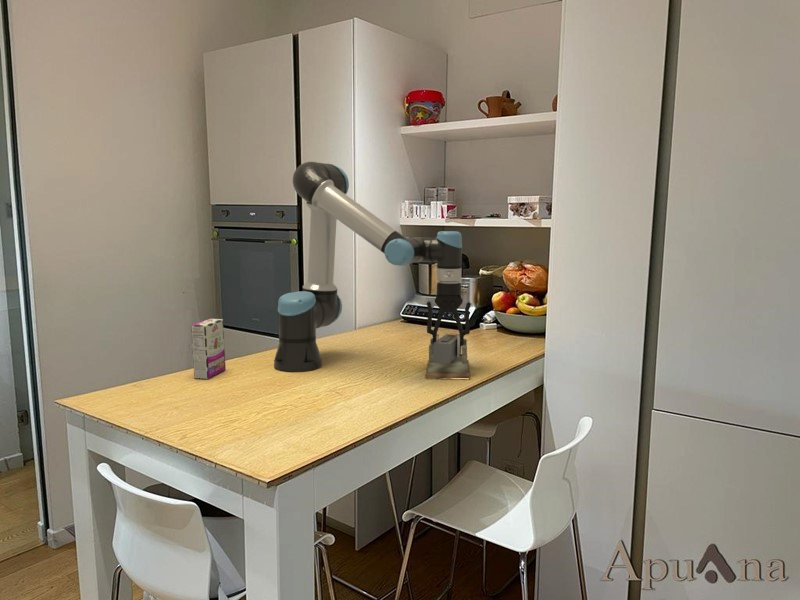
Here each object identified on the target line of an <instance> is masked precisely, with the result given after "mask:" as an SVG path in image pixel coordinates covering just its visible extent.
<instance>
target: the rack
mask: <svg viewBox="0 0 800 600" xmlns="http://www.w3.org/2000/svg"><path fill="white" fill-rule="evenodd" d="M467 340H468V339H467V338H464V345H462V346H461V354H460V357H456V358H455V359H454V360H453V361H452V362H451V363H450V364H443V363H433V337H430V341H429V342H430V343H429V345H428V360H427V365H426V370H425V376H424V379H425V378H469V379H470V365H469V359H468V345H467V343H468V341H467Z"/></svg>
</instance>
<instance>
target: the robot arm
mask: <svg viewBox="0 0 800 600" xmlns="http://www.w3.org/2000/svg"><path fill="white" fill-rule="evenodd" d="M292 186H293V188H294V190H295V192H296V194H297V195H298V196H299V197H300V198H301V199H303V200H304V201H306V206H307V207H308V208H309V210H310V217H309V218H310V219H309V221H310V222H309V240H308V241H309V242H308V243H309V244H308V246H309V247H308V262H307V263H308V264H307V265H308V267H307V282H306V283H305V284H304V285H302V291H293V292H288V293H285V294H283V295H281V296H280V297H279V299H278V300H277V301H278V304H277V305H278V306H277V312H278V313H277V314H278V317H277V318H278V345H277V350H276V352H275V357H274V360H273V366H274V369H275V370H278V371H282V372H308V371H309V372H310V371H313V370H317V369H319V368H321V367H322V366H323V365H322V364H323V363H322V361H323V359H322V355H321V352H320V349H319V347H318V344H317V329H320V328H323V327H324V328H325V327H327V326H329V325H331V324H333V323H334V322H336V321H337V320H338V319H339V318H340V316H341V314H342V310H343V303H342V299H341V298H340V296H339V295H338V287H337V286H336V285H335V284H334V275H335V273H334V272H335V258H336V257H335V256H336V255H335V254H336V238H337V237H336V236H337V220H338V221H339V222H340V223H341V224H343V225H344V226H346V227H347V228H349V229H350V230H351V231H352V232H354V233H355V234H357V236H359V237H361V238H362V239H363V240H365V241H366V242H368V243H369V244H370V245H372V246H373V247H375V248H376V249H377V250H378V251H380V252H381V253H382V254H384V256H385V259H386V260H387V261H388V263H389V264H391V265H393V266H399V267H400V266H406V265H409V264H416V263H421V262H422V263H436V281H437V282H436V295H435V296H436V297H435V298H434V299H433V300H428V301H427V302H426V306H427V310H428V311H427V322H426V323H427V325H426V326H427V327H426V333H427V334H430V335H432V338H433V345H434V342H436V341H437V340H438V339H440V334H438V331H439V327H440V325H441V322H442V319H443V316H444V313H453V316H454V319H455V323H456V326H457V330H458V334H460V335H457V357H460V346H461V347H462V345H464V339H465V338H464V337H465V336H466V335H469V334H470V331H471V330H470V329H471V328H470V308H471V305H472V304H471V302H470V301H466V300H464V299H463V298H462V284H461V282H462V258H463V257H462V256H463V242H462V241H463V238H462V237H463V236H462V234H461V233H462V232H459V231H453V230H452V231H450V230H449V231H448V230H445V231H442V230H441V231H438V232H437V235H436V237H421V236H419V237H418V236H416V237H415V236H409V237H408V236H404V235H403V234H401V233H400V232H398V231H397V230H396V229H394V228H393V227H392V226H391V225H389V224H387V223H386V222H384V221H383V220H382V219H381V218H379V217H378V216H377V215H375V214H374V213H372V212H371V211H370V210H368V209H367V208H365V207H364V206H362V205H361V204H360V203H358V202H357V201H355V200H354V199H353V198H351V197H350V196H349V195H347V193H348V192H349V187H350V181H349V178H348V175H347V174H346V172H345V171H344V170H343V168H341V167H339V166H337V165H335V164H332V163H323V162H317V161H307V162H303V163H301V164H300V165H298V166H297V168H296V169H295V170H294V173H293V174H292ZM435 304H436V306H437V307H438V309H439V312H438V316H437V318H436V322H435V325H434V328H432V322H433V308H434V307H435ZM461 305H462V308H463V309H464V317H465V318H464V320H465V321H464V322H465V326H464V327H465V329H464V328H463V325H462V323H461V322H462V321H461V319H460V315H459V311H458V309H459V308H460V307H461Z"/></svg>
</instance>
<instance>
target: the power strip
mask: <svg viewBox="0 0 800 600" xmlns="http://www.w3.org/2000/svg"><path fill="white" fill-rule="evenodd" d="M457 335H460V334H459V333H456V332H449V333H445V334H444V335H443V336H442V337H439V339H438V340H437V341H436V342H434V345H433V363H443V364H450V363H451V362H452V361H453V360H454V359H455V358H456V357H457ZM460 354H462V346H460Z"/></svg>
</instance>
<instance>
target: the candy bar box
mask: <svg viewBox="0 0 800 600" xmlns="http://www.w3.org/2000/svg"><path fill="white" fill-rule="evenodd" d="M190 327H191V328H190V329H191V343H192V345H191V346H192V347H191V348H192V360H193V378H194V379H195V378H198V379H197V380H210V379H212V378H214V377H216V376H218V375H220V374H221V373H223V372H225V371H226V370H227V369H226V354H225V353H226V351H225V335H224V334H225V333H224V319H223V318H221V319H220V318H209V319H205V320H203V321H200V322H197V323H194V324H191V325H190ZM217 374H218V375H217ZM215 375H216V376H215ZM213 376H214V377H213ZM199 378H200V379H199Z"/></svg>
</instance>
